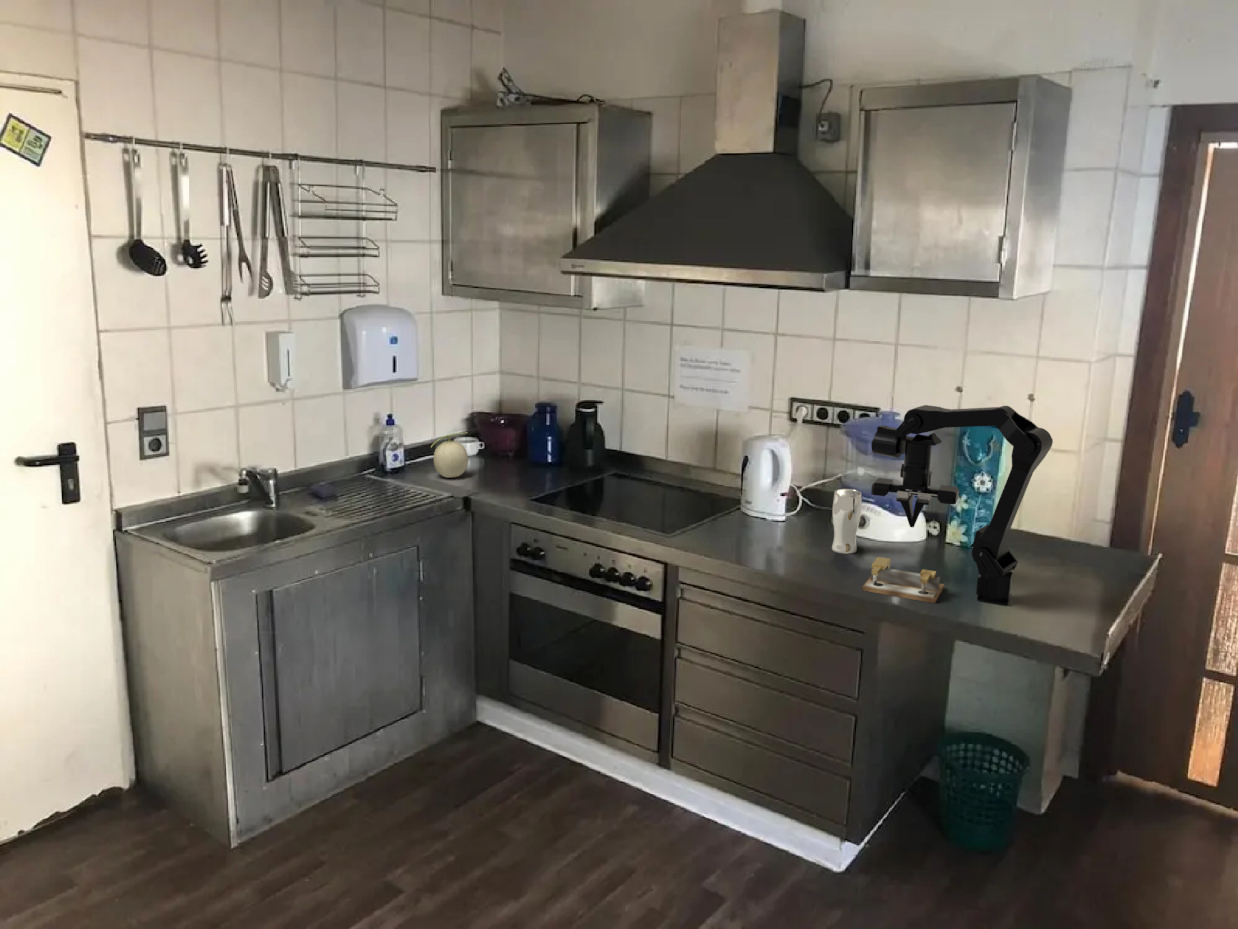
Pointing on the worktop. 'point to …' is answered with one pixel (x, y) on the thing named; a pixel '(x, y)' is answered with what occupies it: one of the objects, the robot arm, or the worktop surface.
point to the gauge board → (906, 584)
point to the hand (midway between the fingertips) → (912, 526)
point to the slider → (879, 566)
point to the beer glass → (846, 520)
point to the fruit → (450, 457)
